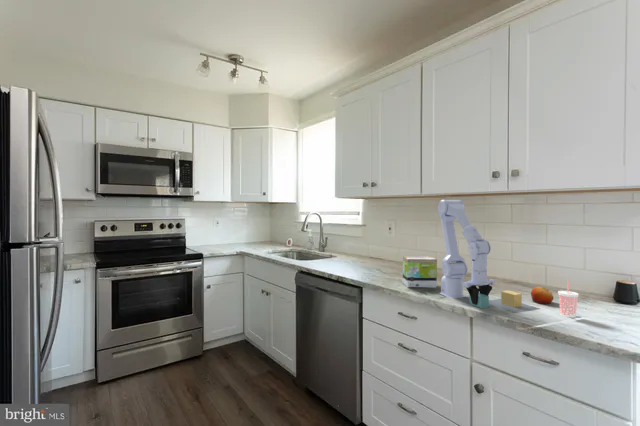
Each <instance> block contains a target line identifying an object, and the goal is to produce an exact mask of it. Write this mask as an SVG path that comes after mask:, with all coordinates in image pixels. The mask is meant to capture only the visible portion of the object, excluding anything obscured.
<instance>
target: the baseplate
mask: <svg viewBox="0 0 640 426" xmlns="http://www.w3.org/2000/svg"><path fill="white" fill-rule="evenodd" d="M489 306H492V307H495V308H498V309H502V310H504V311H507V312H510V313H513V314H516V313H517V314H518V313H522V312H523V313H524V312H529V311H536V310H541V308H539V307H535V306H534V305H533V306H532V305H530V304H526V303H523V302H522V306H520V307H511V306H508V305H505V304H502V303H501V298H496V299H489Z"/></svg>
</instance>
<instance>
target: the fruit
mask: <svg viewBox="0 0 640 426" xmlns="http://www.w3.org/2000/svg"><path fill="white" fill-rule="evenodd" d="M530 295H531V300H532V303H536V304H542V305H550V304H551V303H552V302H553V301H554V295H553V293H552V291H550V290H549V289H547V288H546V287H543V286H539V285H538V286H537V285H536V286H534V287H533V288H532V290H531V292H530Z"/></svg>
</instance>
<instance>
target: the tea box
mask: <svg viewBox="0 0 640 426" xmlns="http://www.w3.org/2000/svg"><path fill="white" fill-rule="evenodd" d="M437 271H438V259H436V258H434V257H433V256H431V255H429V256H426V255H425V256H424V255H423V256H420V255H418V256H417V255H416V256H414V255H412V256H411V255H409V256H407V255H406V256H405V255H404V256H402V284H403V285H404V286H405V287H406V288H432V289H433V288H435V289H436V288H437V285H438V284H437V283H438V282H437V280H438V279H437V277H438V276H437V274H438V273H437Z"/></svg>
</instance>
